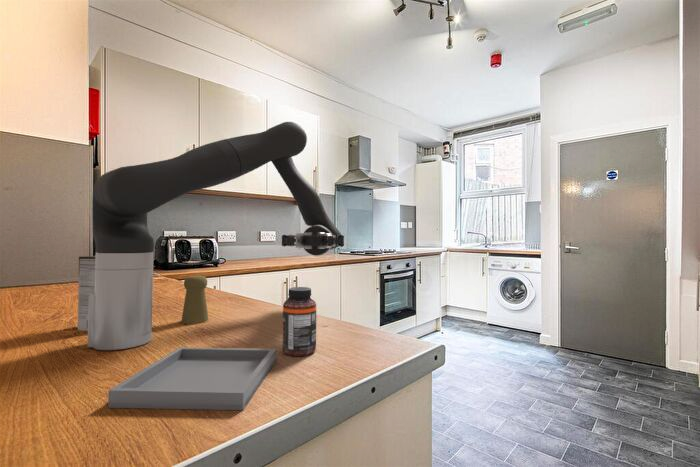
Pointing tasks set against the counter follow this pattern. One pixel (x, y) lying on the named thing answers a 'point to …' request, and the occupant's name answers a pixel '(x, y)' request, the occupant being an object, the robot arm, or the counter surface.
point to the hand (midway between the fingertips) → (309, 240)
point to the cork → (195, 300)
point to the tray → (196, 380)
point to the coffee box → (85, 289)
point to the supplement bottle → (299, 322)
